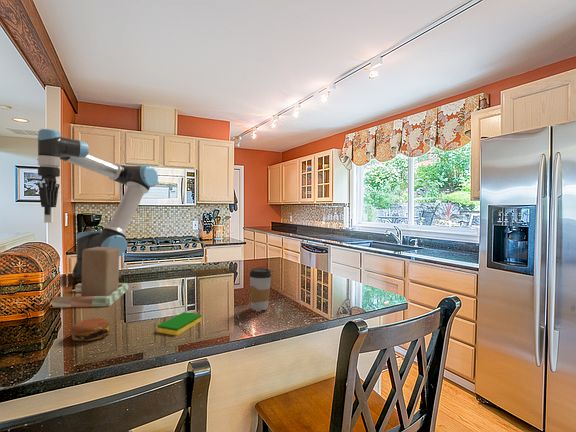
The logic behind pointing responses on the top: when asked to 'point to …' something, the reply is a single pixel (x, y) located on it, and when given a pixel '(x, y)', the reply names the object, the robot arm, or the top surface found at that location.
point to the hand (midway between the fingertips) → (48, 222)
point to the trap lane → (90, 298)
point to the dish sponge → (179, 323)
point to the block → (100, 271)
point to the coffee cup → (259, 288)
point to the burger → (90, 329)
